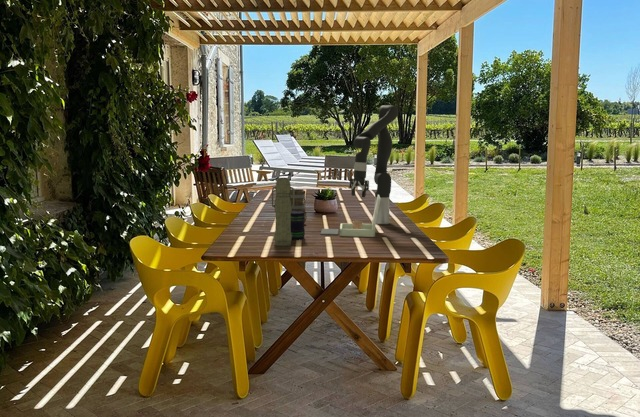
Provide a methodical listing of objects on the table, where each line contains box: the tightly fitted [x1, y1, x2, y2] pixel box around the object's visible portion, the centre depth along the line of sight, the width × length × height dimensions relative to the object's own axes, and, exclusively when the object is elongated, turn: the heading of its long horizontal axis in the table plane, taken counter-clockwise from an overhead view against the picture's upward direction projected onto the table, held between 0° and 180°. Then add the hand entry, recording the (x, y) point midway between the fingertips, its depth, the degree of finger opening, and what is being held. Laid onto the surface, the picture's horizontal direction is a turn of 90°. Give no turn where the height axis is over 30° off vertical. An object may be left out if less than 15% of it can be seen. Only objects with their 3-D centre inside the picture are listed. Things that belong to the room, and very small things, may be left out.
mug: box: [290, 189, 306, 212], centre depth 425 cm, size 20×14×15 cm
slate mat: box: [320, 228, 340, 236], centre depth 338 cm, size 10×16×1 cm, turn 177°
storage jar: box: [291, 211, 306, 241], centre depth 318 cm, size 10×10×15 cm
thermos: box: [271, 177, 296, 247], centre depth 300 cm, size 9×12×35 cm
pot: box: [351, 220, 363, 229], centre depth 337 cm, size 6×6×7 cm
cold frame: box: [339, 195, 381, 238], centre depth 336 cm, size 23×20×22 cm
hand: (358, 196), depth 353 cm, fingers open, 8 cm apart
